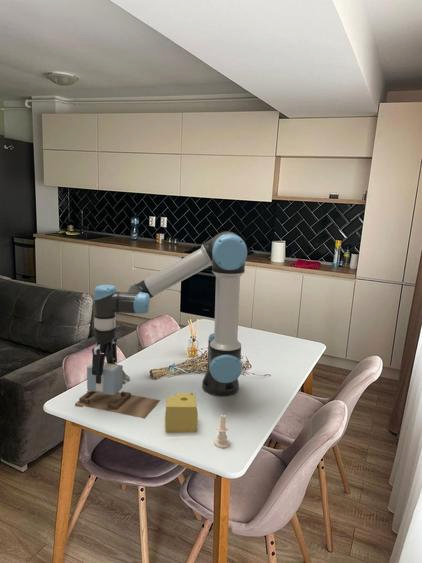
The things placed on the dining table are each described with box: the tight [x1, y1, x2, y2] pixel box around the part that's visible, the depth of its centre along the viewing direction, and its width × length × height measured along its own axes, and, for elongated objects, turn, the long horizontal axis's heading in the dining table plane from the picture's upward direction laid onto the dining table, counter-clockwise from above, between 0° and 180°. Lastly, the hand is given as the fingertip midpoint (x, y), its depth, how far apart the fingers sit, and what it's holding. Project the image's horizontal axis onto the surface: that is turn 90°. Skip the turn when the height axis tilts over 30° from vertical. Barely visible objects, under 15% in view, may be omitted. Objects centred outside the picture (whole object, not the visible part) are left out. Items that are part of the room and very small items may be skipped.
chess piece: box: [213, 413, 231, 449], centre depth 135 cm, size 5×5×10 cm
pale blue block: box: [86, 361, 124, 395], centre depth 158 cm, size 11×6×9 cm, turn 73°
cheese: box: [164, 392, 199, 433], centre depth 144 cm, size 10×11×10 cm
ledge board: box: [74, 390, 161, 419], centre depth 158 cm, size 28×14×3 cm, turn 73°
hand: (105, 386), depth 158 cm, fingers closed on pale blue block, 7 cm apart
